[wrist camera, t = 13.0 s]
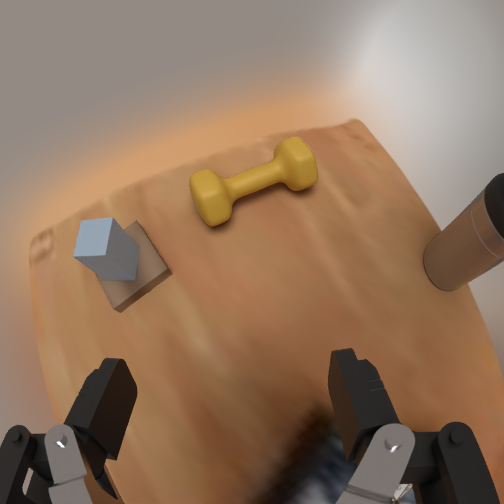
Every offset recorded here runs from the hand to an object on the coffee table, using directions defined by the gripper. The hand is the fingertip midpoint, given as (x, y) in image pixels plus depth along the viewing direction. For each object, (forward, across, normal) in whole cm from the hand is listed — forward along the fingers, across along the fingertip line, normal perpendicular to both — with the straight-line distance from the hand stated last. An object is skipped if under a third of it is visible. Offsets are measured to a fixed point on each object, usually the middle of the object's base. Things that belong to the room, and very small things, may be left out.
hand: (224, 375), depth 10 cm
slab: (+31, +18, +9) cm, 37 cm away
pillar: (+28, +18, +7) cm, 35 cm away
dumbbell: (+39, -2, +2) cm, 39 cm away
